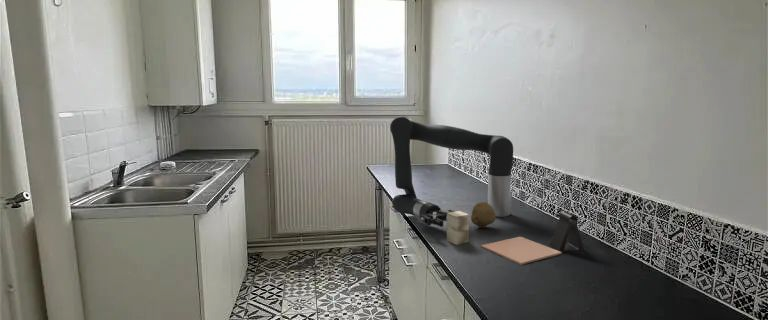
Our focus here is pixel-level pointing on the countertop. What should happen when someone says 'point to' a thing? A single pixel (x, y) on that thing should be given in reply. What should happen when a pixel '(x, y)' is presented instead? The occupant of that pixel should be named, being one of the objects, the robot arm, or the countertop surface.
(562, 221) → the phone stand
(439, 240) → the countertop surface
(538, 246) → the terracotta tile
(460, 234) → the maple block
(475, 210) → the natural sponge
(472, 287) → the countertop surface
